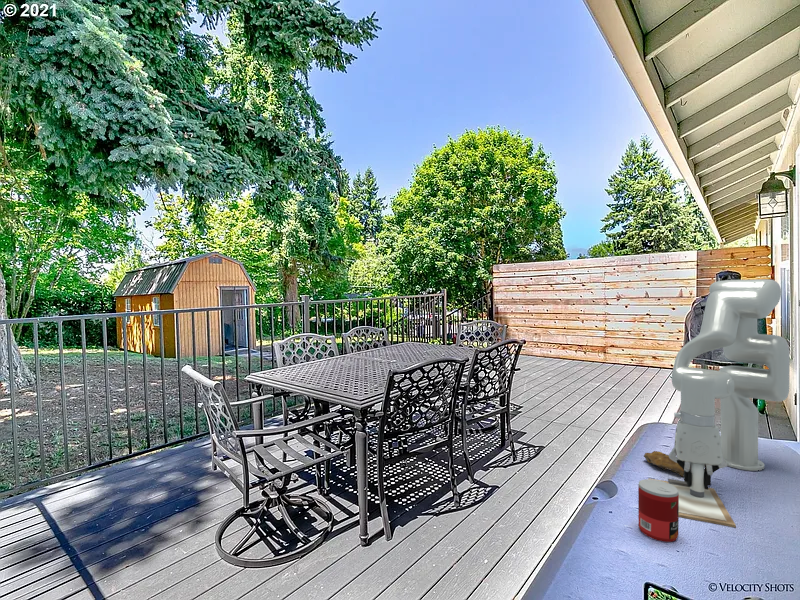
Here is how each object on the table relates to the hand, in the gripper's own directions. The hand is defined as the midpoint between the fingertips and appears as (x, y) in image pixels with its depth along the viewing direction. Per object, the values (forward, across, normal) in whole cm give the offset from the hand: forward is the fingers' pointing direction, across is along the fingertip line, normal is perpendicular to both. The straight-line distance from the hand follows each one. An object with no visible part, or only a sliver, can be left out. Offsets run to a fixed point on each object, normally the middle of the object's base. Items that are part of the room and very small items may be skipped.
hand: (697, 485), depth 113 cm
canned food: (+4, -12, -23) cm, 26 cm away
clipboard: (+3, -3, -3) cm, 6 cm away
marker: (+3, 0, 0) cm, 3 cm away
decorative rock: (+4, -4, +19) cm, 20 cm away
